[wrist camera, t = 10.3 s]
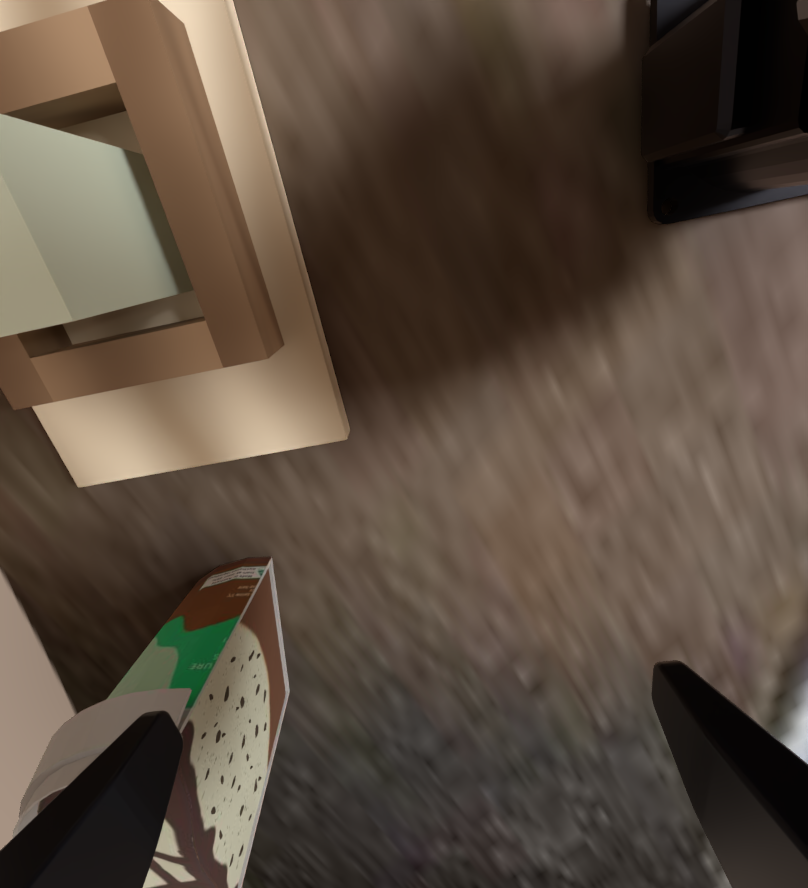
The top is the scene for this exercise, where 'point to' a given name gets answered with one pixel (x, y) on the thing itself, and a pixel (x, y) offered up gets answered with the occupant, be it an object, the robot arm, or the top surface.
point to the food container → (196, 724)
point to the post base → (198, 239)
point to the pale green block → (78, 230)
